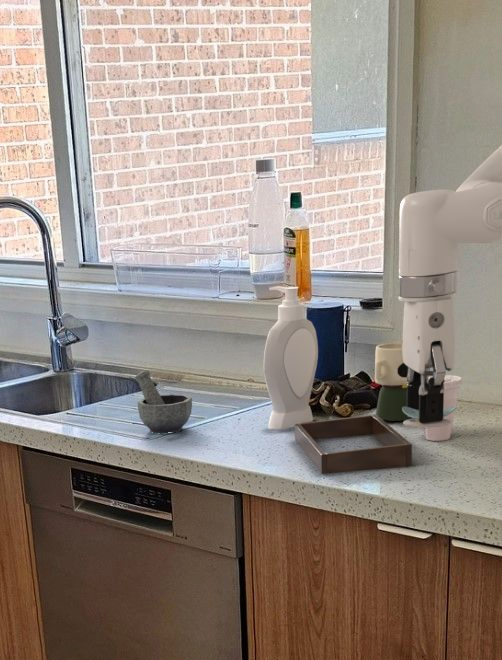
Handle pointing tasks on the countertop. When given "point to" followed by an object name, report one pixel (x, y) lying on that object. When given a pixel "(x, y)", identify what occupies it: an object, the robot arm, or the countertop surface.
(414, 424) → the pacifier
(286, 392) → the soap bottle
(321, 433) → the crate
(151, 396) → the mortar and pestle
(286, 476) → the countertop surface
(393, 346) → the character mug
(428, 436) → the smoothie
